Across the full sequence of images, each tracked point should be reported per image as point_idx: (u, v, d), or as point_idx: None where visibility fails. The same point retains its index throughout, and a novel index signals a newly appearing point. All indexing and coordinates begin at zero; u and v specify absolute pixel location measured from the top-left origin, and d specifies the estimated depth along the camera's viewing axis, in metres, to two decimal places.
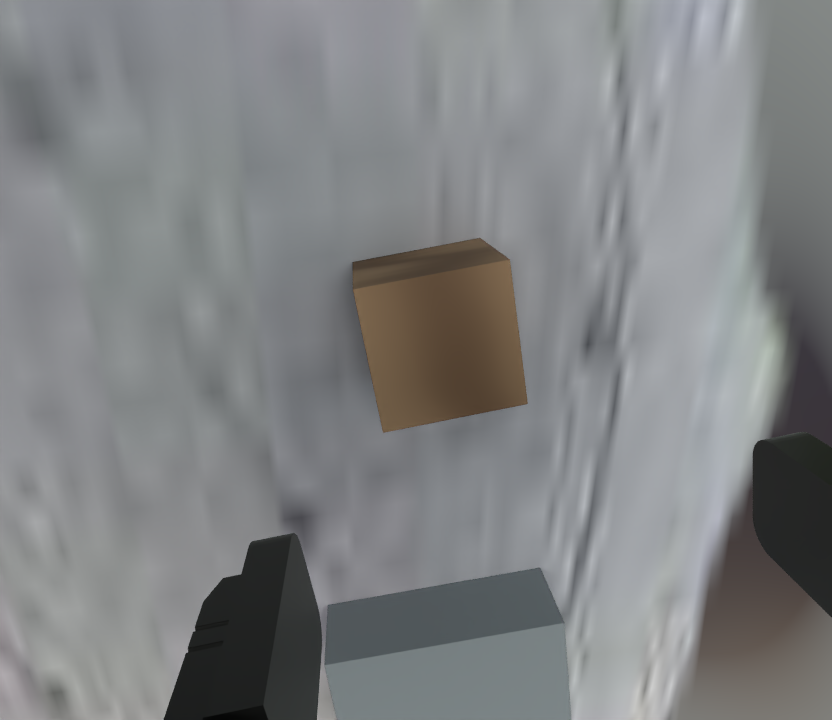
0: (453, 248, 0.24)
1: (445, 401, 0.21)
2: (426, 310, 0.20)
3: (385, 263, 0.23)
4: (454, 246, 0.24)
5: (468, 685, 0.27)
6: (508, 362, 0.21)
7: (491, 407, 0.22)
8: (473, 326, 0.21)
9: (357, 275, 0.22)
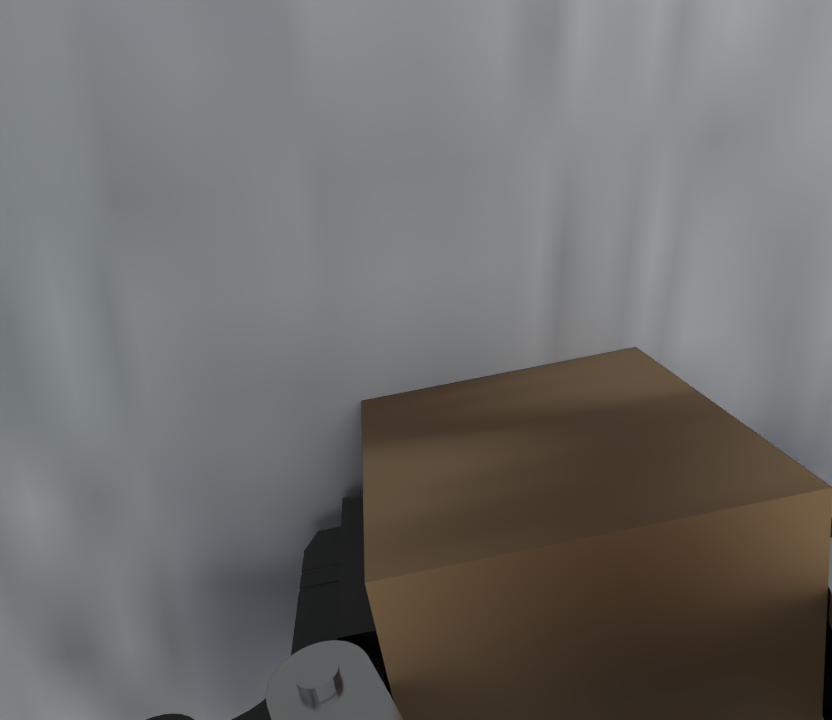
0: (592, 383, 0.10)
1: None
2: (578, 625, 0.07)
3: (439, 425, 0.10)
4: (591, 375, 0.11)
5: None
6: None
7: None
8: (703, 657, 0.07)
9: (374, 478, 0.09)
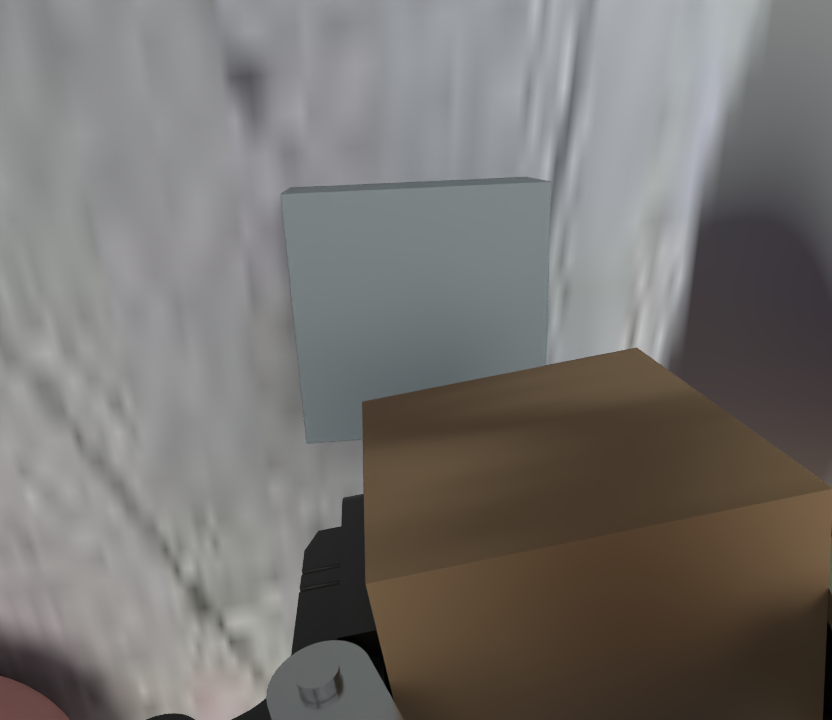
0: (593, 384, 0.10)
1: None
2: (580, 626, 0.07)
3: (439, 426, 0.10)
4: (591, 376, 0.11)
5: (438, 252, 0.24)
6: None
7: None
8: (703, 658, 0.07)
9: (375, 479, 0.09)
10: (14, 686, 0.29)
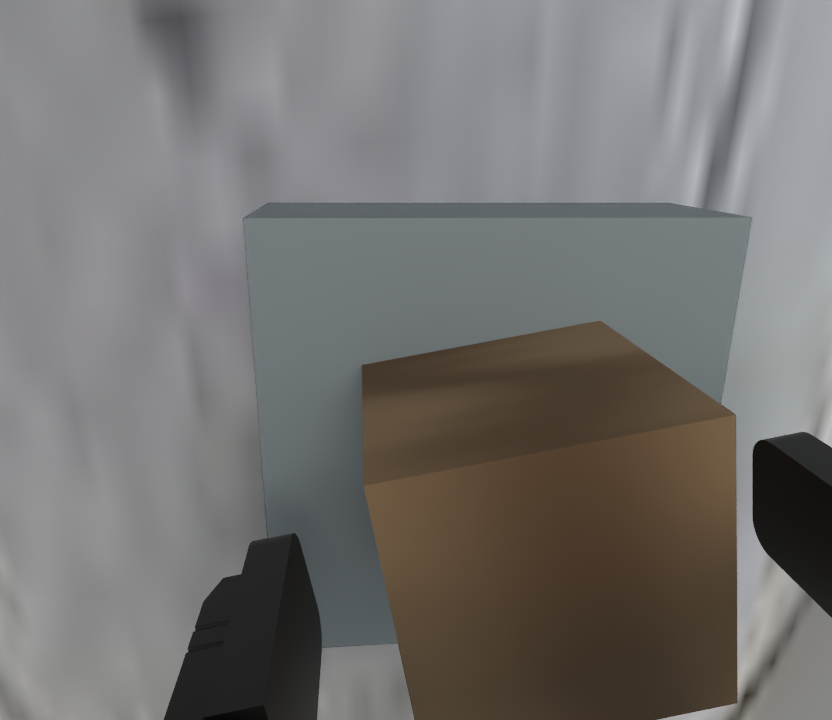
0: (559, 348, 0.12)
1: (563, 704, 0.10)
2: (535, 526, 0.09)
3: (427, 381, 0.12)
4: (559, 342, 0.12)
5: None
6: (707, 625, 0.10)
7: (660, 712, 0.10)
8: (636, 557, 0.09)
9: (372, 419, 0.10)
10: None
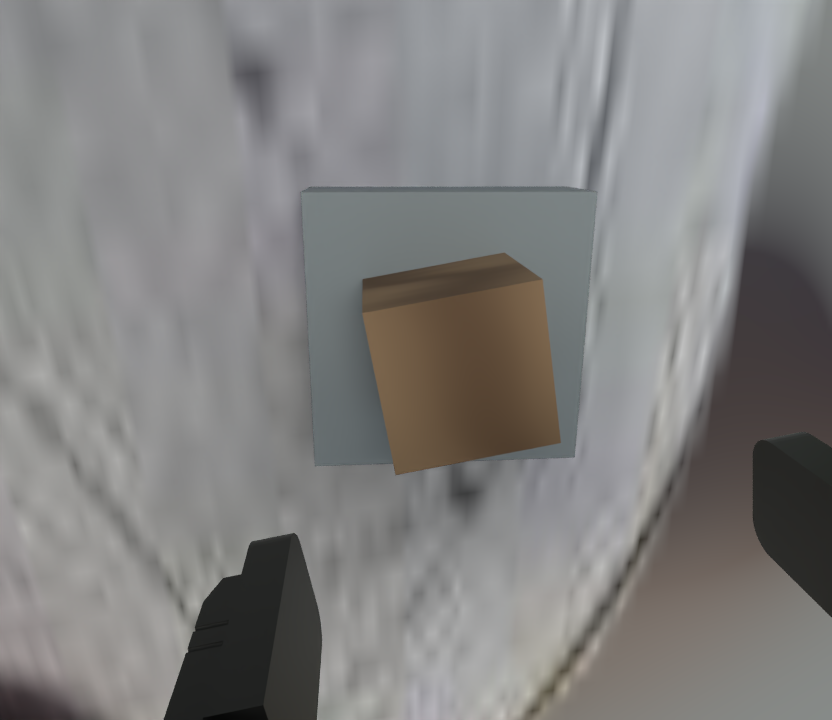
0: (475, 264, 0.21)
1: (467, 440, 0.19)
2: (447, 336, 0.18)
3: (399, 281, 0.21)
4: (476, 262, 0.21)
5: None
6: (540, 395, 0.18)
7: (519, 447, 0.19)
8: (499, 355, 0.18)
9: (367, 295, 0.19)
10: None
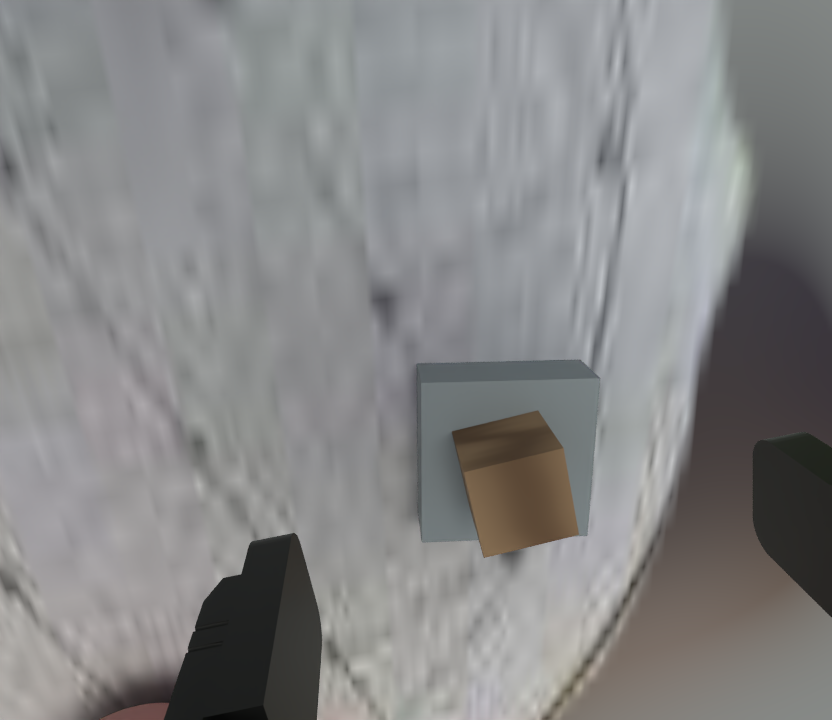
0: (521, 423, 0.35)
1: (524, 536, 0.32)
2: (511, 481, 0.31)
3: (476, 438, 0.34)
4: (521, 421, 0.35)
5: None
6: (565, 509, 0.32)
7: (554, 538, 0.33)
8: (541, 489, 0.32)
9: (461, 452, 0.33)
10: None
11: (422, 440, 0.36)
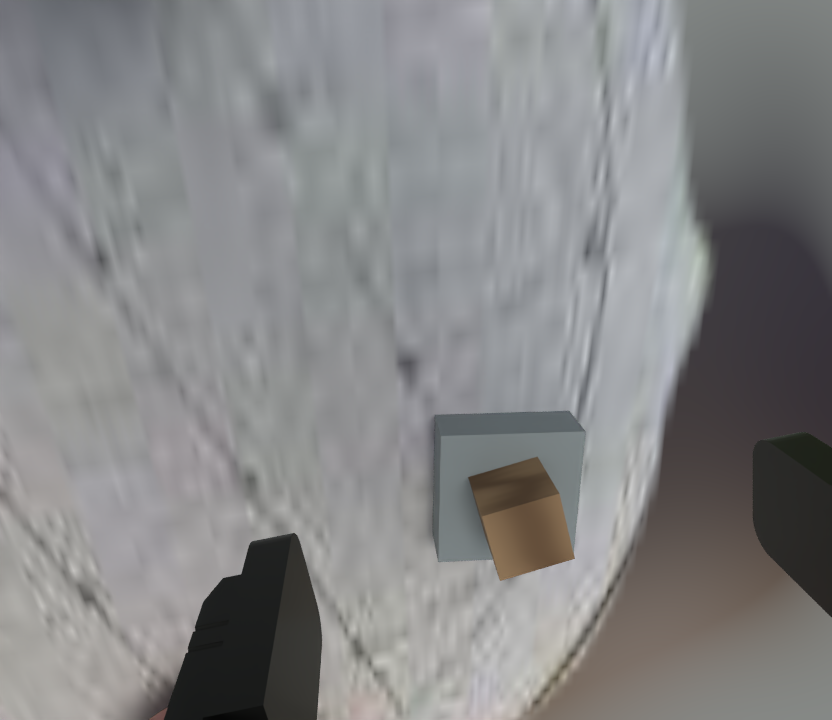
0: (524, 469, 0.43)
1: (531, 562, 0.41)
2: (519, 521, 0.40)
3: (489, 483, 0.43)
4: (524, 467, 0.43)
5: None
6: (563, 540, 0.41)
7: (555, 562, 0.41)
8: (543, 525, 0.40)
9: (477, 497, 0.41)
10: None
11: (440, 481, 0.44)
